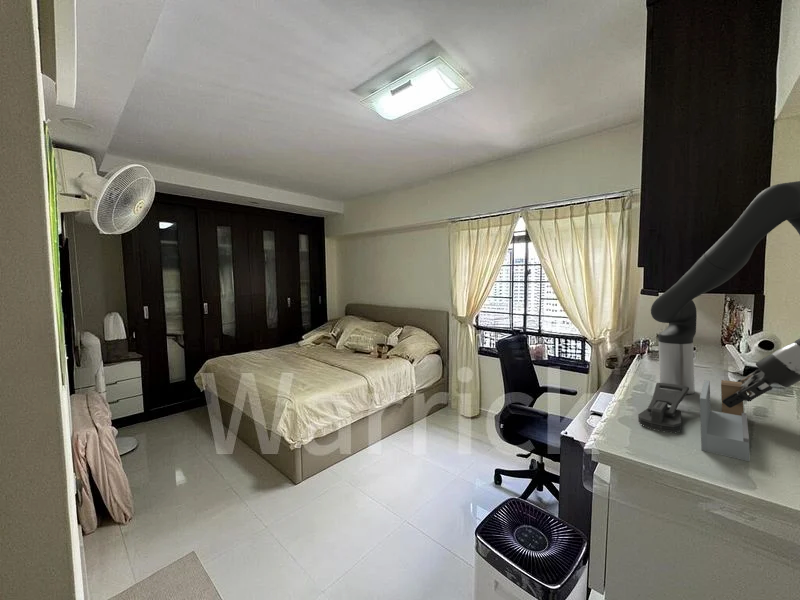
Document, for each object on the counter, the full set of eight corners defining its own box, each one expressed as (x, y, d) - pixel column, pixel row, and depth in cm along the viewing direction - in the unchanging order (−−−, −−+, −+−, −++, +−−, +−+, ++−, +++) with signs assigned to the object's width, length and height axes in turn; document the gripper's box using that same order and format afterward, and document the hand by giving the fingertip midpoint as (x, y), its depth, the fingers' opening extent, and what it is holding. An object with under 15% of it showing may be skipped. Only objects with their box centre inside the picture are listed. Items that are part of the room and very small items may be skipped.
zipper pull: (692, 386, 96) (677, 409, 80) (692, 408, 96) (678, 435, 80) (654, 381, 103) (634, 401, 86) (655, 401, 103) (635, 425, 86)
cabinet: (722, 414, 90) (721, 379, 90) (747, 419, 87) (746, 382, 87) (722, 420, 87) (721, 384, 86) (748, 425, 83) (747, 387, 83)
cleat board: (705, 424, 85) (704, 380, 84) (746, 432, 79) (745, 384, 79) (701, 450, 72) (699, 398, 72) (749, 461, 67) (748, 405, 67)
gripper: (770, 348, 86) (712, 383, 95) (776, 357, 76) (710, 395, 85) (802, 370, 82) (739, 404, 91) (812, 383, 72) (740, 420, 81)
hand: (725, 400), depth 88 cm, fingers open, 8 cm apart
